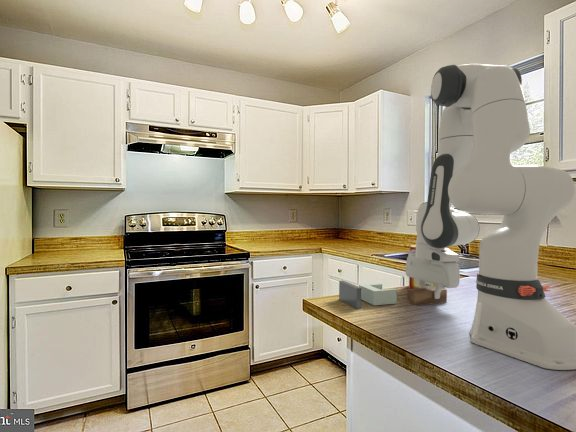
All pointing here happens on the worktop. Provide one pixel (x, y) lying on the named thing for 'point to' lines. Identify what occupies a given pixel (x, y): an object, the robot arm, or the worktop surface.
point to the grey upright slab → (350, 294)
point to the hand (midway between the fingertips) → (429, 296)
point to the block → (378, 294)
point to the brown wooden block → (425, 296)
